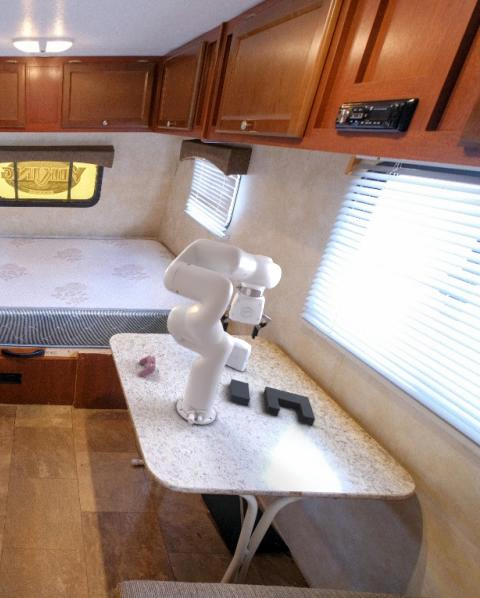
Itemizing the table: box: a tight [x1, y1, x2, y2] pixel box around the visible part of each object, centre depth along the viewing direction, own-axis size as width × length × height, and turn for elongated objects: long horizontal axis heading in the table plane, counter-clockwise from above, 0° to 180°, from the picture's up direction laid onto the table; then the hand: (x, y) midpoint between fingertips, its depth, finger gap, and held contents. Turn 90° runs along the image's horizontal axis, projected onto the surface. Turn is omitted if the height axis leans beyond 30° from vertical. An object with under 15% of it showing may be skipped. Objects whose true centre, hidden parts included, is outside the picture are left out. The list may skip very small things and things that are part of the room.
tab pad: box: [229, 378, 251, 407], centre depth 131 cm, size 10×6×3 cm, turn 159°
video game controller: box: [138, 354, 157, 377], centre depth 140 cm, size 10×5×7 cm, turn 171°
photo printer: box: [225, 336, 252, 372], centre depth 147 cm, size 10×4×12 cm, turn 47°
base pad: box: [263, 386, 316, 427], centre depth 126 cm, size 12×14×3 cm
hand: (238, 334), depth 131 cm, fingers open, 9 cm apart
